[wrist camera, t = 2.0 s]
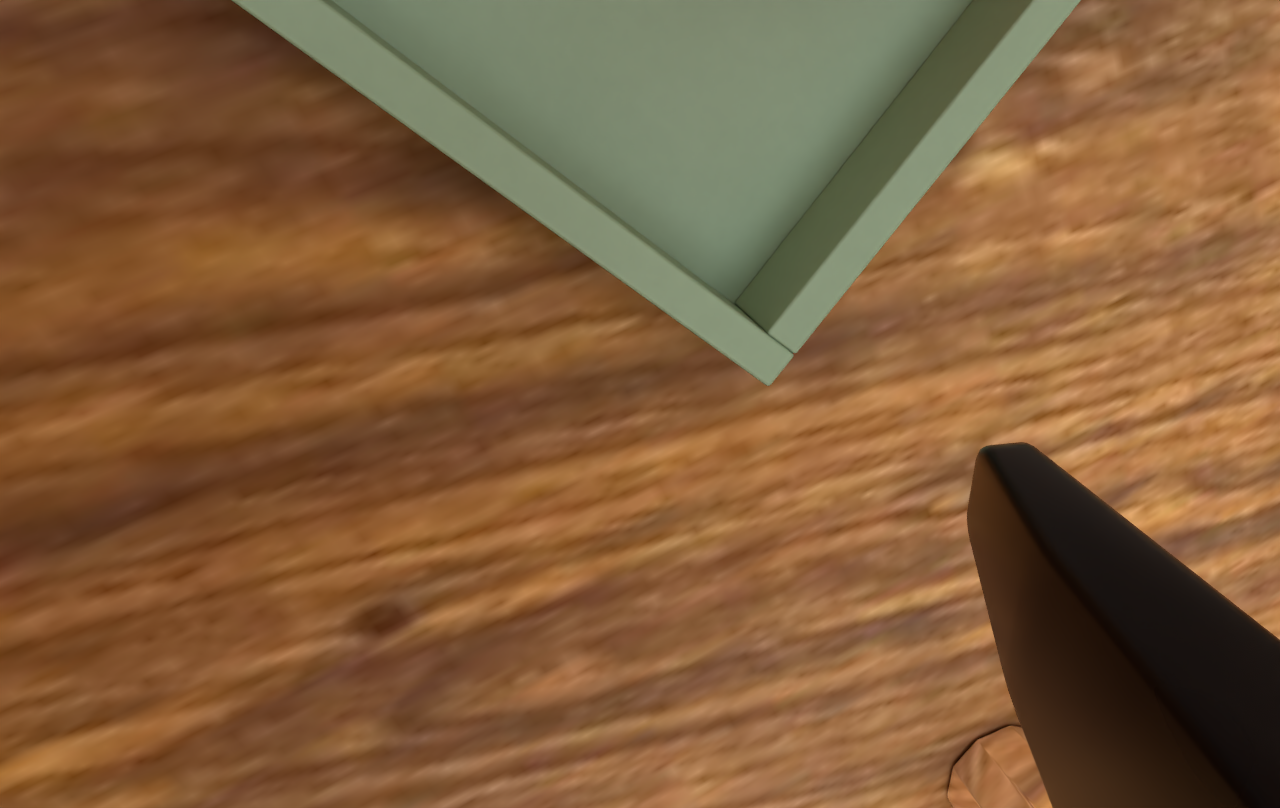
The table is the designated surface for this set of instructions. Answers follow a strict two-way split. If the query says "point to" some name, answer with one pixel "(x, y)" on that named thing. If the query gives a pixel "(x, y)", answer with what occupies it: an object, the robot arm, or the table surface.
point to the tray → (693, 129)
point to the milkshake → (998, 774)
